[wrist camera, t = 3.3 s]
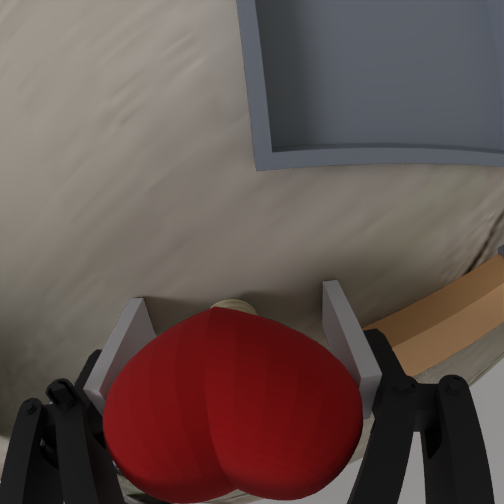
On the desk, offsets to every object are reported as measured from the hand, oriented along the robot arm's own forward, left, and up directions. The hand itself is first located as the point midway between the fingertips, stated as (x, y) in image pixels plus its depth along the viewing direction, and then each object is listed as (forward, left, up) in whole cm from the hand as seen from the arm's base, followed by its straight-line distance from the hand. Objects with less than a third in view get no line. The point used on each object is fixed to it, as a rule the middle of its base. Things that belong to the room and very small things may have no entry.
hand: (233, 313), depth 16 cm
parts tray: (+9, +14, 0) cm, 17 cm away
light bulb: (0, 0, 0) cm, 0 cm away
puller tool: (+14, -2, 0) cm, 14 cm away
